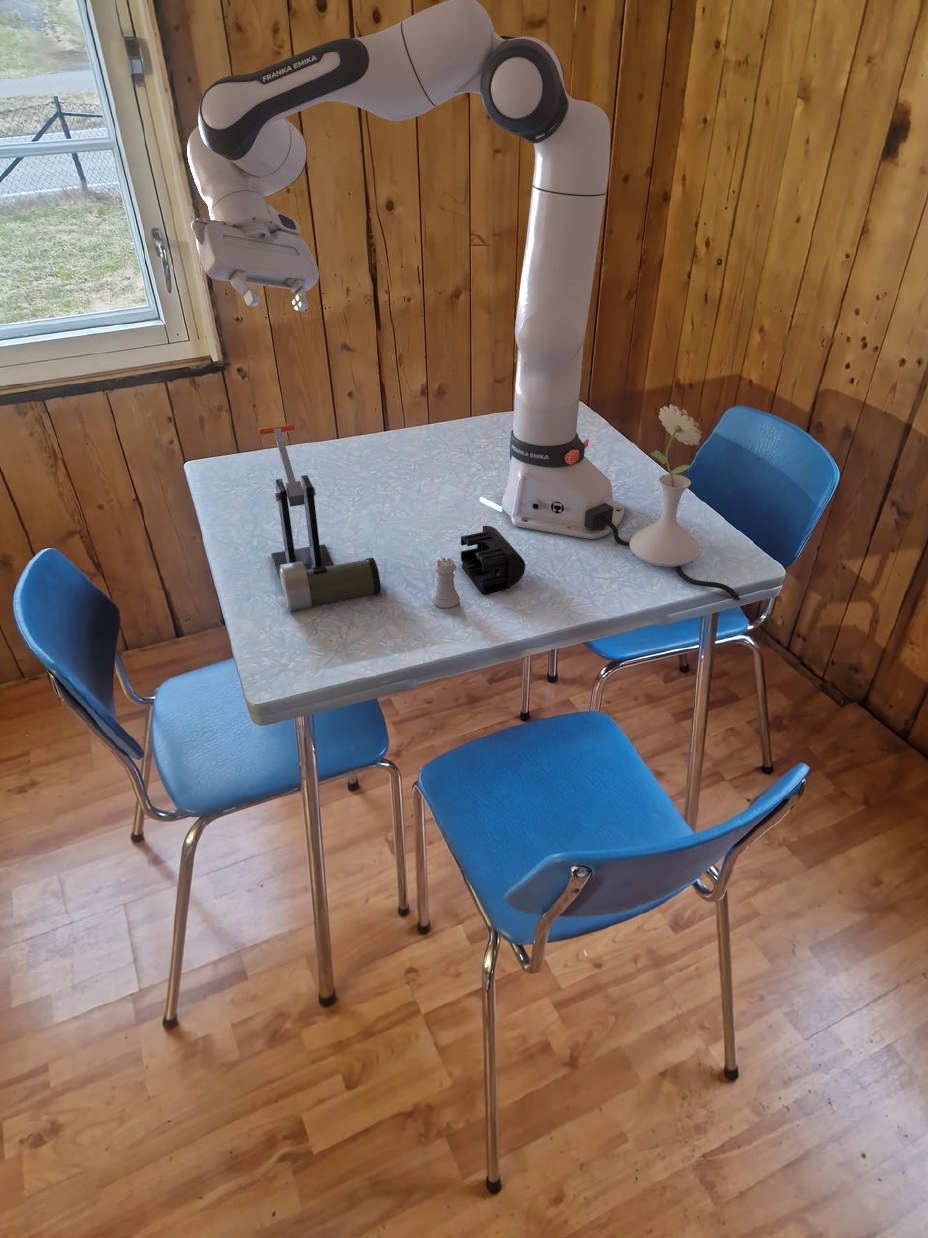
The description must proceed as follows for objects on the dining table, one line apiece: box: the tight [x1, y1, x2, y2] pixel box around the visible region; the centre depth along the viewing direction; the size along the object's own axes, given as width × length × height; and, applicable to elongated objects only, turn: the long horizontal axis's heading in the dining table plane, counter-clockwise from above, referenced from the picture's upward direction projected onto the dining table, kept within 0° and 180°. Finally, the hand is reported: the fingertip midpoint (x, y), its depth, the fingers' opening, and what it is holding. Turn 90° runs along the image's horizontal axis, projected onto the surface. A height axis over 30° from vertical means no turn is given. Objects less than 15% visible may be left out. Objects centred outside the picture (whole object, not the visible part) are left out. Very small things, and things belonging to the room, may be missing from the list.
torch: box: [280, 556, 382, 613], centre depth 126 cm, size 14×7×7 cm, turn 110°
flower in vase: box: [628, 404, 702, 568], centre depth 133 cm, size 13×11×25 cm
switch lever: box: [258, 424, 305, 508], centre depth 130 cm, size 16×6×2 cm, turn 19°
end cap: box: [460, 525, 526, 596], centre depth 132 cm, size 10×7×7 cm
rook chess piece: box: [431, 557, 461, 609], centre depth 125 cm, size 4×4×8 cm
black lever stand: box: [270, 474, 334, 587], centre depth 131 cm, size 11×9×16 cm
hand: (279, 306), depth 128 cm, fingers open, 8 cm apart
